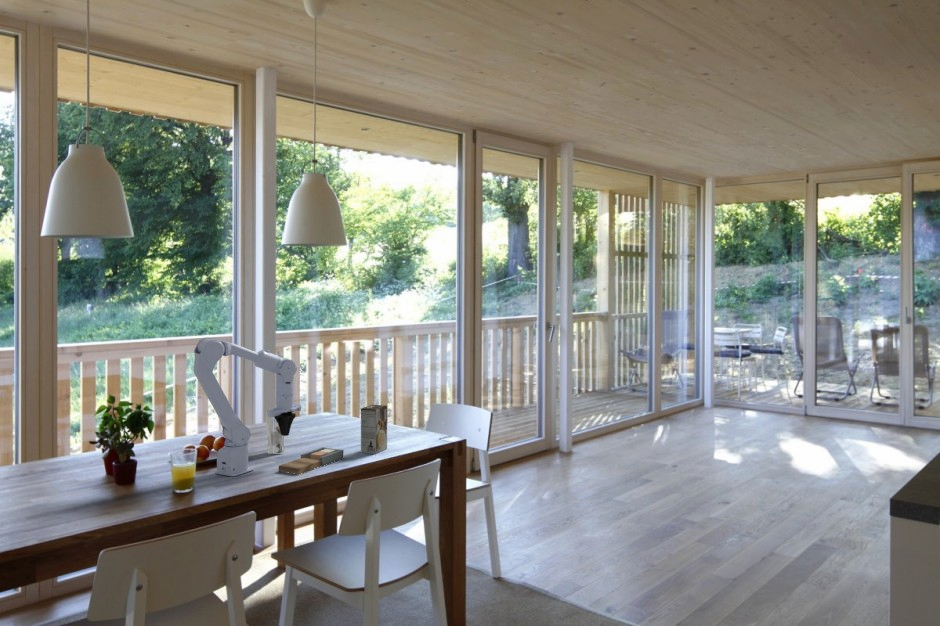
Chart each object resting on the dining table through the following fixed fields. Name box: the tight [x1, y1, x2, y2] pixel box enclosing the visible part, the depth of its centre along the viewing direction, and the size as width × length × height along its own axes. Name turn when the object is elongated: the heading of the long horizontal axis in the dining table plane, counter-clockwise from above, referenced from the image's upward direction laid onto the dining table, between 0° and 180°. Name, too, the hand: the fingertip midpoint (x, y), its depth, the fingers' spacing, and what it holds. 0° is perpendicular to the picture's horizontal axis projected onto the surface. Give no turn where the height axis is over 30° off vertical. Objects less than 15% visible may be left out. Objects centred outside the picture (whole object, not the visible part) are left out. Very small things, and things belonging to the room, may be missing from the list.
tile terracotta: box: [310, 452, 327, 460], centre depth 249 cm, size 4×4×2 cm
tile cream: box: [319, 448, 335, 454], centre depth 253 cm, size 4×4×2 cm
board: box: [278, 457, 323, 475], centre depth 240 cm, size 12×8×2 cm, turn 155°
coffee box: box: [360, 404, 388, 455], centre depth 266 cm, size 9×6×16 cm
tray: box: [300, 447, 344, 467], centre depth 251 cm, size 12×9×3 cm
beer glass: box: [265, 409, 285, 455], centre depth 261 cm, size 7×7×15 cm
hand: (284, 435), depth 245 cm, fingers closed
